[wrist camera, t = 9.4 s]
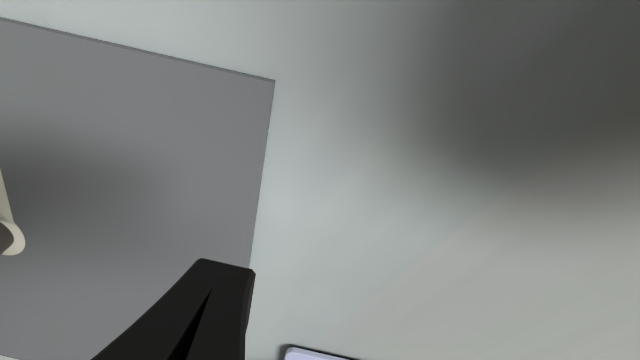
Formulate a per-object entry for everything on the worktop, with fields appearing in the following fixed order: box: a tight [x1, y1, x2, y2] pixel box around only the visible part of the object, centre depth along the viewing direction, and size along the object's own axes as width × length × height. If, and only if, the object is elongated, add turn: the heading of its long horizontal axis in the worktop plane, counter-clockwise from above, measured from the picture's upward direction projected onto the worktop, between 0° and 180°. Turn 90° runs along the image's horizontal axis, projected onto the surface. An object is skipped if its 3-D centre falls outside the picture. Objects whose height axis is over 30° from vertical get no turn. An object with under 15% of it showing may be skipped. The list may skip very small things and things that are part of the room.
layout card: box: [0, 17, 275, 360], centre depth 23 cm, size 25×27×1 cm
